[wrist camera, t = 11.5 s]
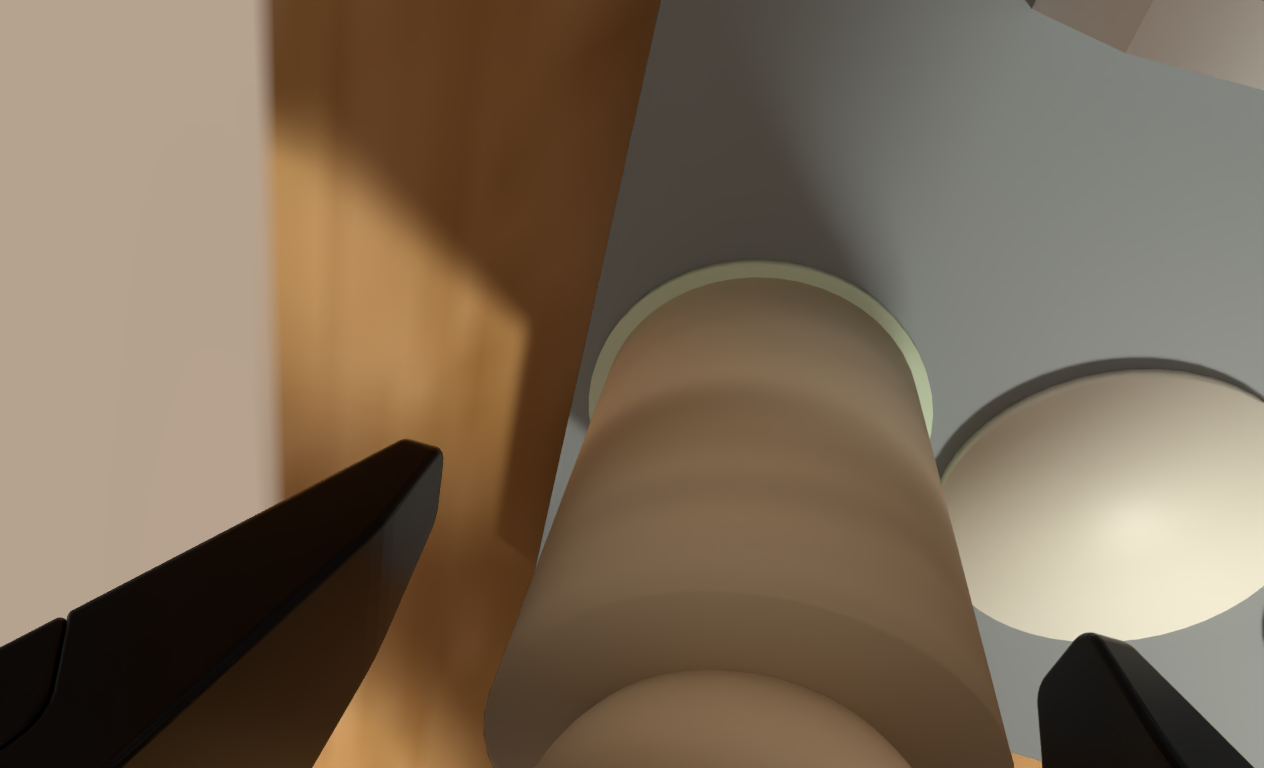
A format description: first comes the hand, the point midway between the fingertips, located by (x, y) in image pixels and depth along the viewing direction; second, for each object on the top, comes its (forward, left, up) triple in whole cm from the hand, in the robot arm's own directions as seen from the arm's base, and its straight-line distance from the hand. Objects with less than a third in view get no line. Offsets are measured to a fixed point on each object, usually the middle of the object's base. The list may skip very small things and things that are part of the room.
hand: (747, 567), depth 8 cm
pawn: (0, 0, -3) cm, 3 cm away
